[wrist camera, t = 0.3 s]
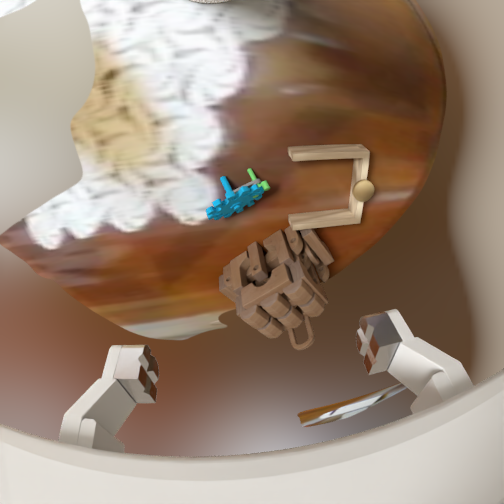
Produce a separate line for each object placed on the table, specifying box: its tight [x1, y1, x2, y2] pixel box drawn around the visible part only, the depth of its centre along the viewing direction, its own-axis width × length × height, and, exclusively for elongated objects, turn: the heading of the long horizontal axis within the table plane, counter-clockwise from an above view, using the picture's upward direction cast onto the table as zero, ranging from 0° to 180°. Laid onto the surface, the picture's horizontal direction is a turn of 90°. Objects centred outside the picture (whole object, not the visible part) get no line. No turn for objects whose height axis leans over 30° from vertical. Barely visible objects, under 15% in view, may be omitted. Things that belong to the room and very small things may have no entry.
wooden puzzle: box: [219, 226, 334, 350], centre depth 54 cm, size 22×15×19 cm, turn 127°
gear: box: [206, 168, 270, 220], centre depth 46 cm, size 11×6×10 cm
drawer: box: [288, 144, 374, 231], centre depth 48 cm, size 14×15×4 cm
